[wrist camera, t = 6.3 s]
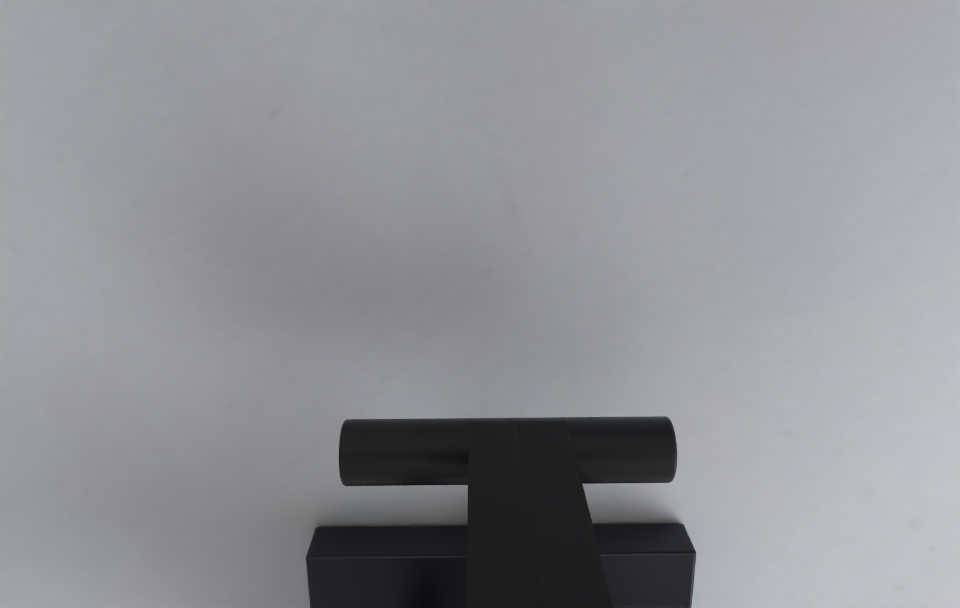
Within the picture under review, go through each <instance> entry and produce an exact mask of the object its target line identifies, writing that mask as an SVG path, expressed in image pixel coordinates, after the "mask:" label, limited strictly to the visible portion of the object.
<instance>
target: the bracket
mask: <svg viewBox="0 0 960 608" xmlns="http://www.w3.org/2000/svg"><path fill="white" fill-rule="evenodd" d="M467 528H468V526H427V527H331V528H316V529H315V532H314V535H313V538H312V541H311V544H310V547H309V550H308V553H307V556H306V563H307V575H308V587H309V598H310V608H466V602H467ZM593 529H594V533H595V537H596V541H597V545H598V549H599V553H600V557H601V561H602V565H603V569H604V573H605V577H606V581H607V585H608V589H609V593H610V597H611V601H612V605H683V606H684V607H685V608H691V605H692V594H693V583H694V572H695V561H696V551H695V549H694V547H693V545H692V542H691V540H690V538H689V536H688V534H687V531H686V529H685V527H684V525H683V524H619V525H593Z"/></svg>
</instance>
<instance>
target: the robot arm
mask: <svg viewBox="0 0 960 608" xmlns="http://www.w3.org/2000/svg"><path fill="white" fill-rule="evenodd" d="M466 608H685V607H684V606H683V605H612V601H611V597H610V593H609V589H608V585H607V581H606V577H605V573H604V569H603V565H602V561H601V557H600V553H599V549H598V545H597V541H596V537H595V533H594V529H593V525H592V521H591V517H590V513H589V509H588V505H587V501H586V497H585V493H584V489H583V485H582V481H581V477H580V473H579V469H578V465H577V461H576V457H575V453H574V449H573V444H572V440H571V436H570V432H569V428H568V424H567V421H490V422H469V455H468V528H467V602H466Z"/></svg>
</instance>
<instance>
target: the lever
mask: <svg viewBox="0 0 960 608" xmlns="http://www.w3.org/2000/svg"><path fill="white" fill-rule="evenodd" d="M490 421H567V424H568V428H569V432H570V436H571V440H572V444H573V449H574V453H575V457H576V461H577V465H578V469H579V473H580V477H581V481H582V484H587V483H669V482H671V481H672V480H673V479H674V476H675V472H676V466H677V444H676V437H675V432H674V428H673V425H672V422H671V420H670V419H669V418H668V417H562V418H456V419H350V420H345V421H344V423H343V425H342V428H341V433H340V441H339V471H340V478H341V481H342V484H343V485H345V486H388V485H468V455H469V422H490Z"/></svg>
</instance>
